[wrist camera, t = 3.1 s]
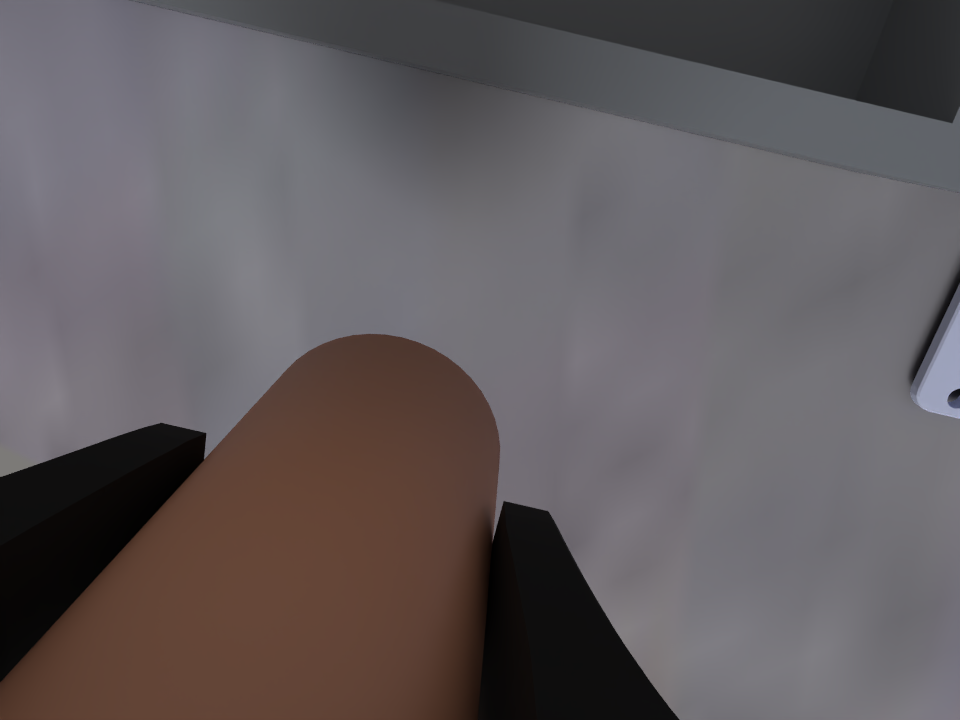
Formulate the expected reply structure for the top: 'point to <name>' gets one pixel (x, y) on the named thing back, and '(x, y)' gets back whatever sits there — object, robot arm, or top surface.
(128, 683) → the peg
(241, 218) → the top surface
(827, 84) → the box
